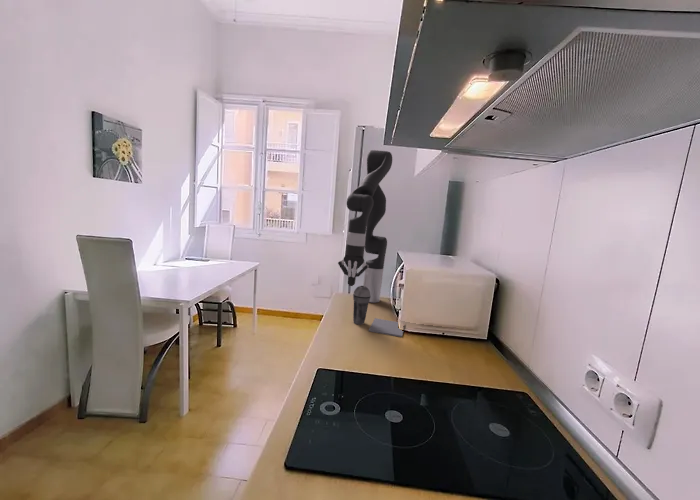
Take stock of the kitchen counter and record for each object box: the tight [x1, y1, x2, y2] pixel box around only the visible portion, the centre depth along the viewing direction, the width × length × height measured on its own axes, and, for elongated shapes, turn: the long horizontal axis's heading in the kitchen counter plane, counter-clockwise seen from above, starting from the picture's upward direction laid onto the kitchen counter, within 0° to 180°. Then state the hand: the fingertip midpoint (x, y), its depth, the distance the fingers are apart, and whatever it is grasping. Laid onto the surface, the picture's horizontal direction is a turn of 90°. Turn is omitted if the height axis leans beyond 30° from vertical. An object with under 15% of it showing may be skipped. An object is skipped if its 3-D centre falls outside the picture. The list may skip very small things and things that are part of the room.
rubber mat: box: [368, 317, 404, 338], centre depth 149 cm, size 16×13×1 cm
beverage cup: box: [352, 275, 371, 326], centre depth 150 cm, size 7×7×20 cm
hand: (351, 285), depth 150 cm, fingers closed
